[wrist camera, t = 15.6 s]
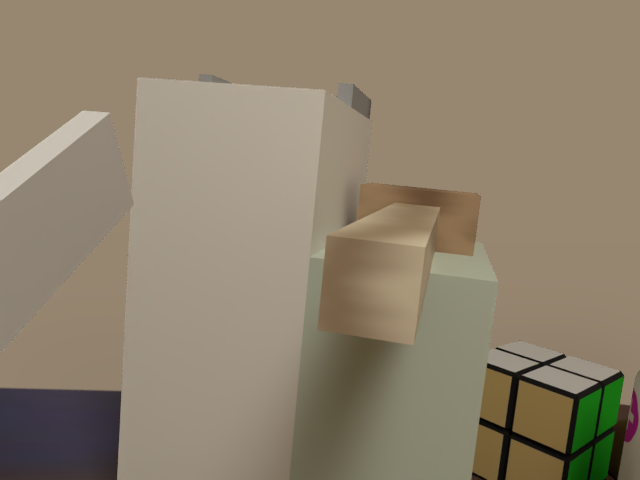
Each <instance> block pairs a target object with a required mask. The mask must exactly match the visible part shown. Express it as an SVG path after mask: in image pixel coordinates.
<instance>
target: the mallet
mask: <svg viewBox="0 0 640 480" xmlns="http://www.w3.org/2000/svg"><path fill="white" fill-rule="evenodd" d="M480 200H481V196H480V195H478V194H477V193H467V192H457V191H447V190H437V189H427V188H417V187H407V186H396V185H387V184H376V183H367V184H360V194H359V203H358V213H357V221H356V222H353V223H351V224H349V225H347V226H345V227H343V228H341V229H339V230H337V231H335V232H332V233H330V234H328V235H326V246H325V256H324V267H323V277H322V287H321V298H320V308H319V318H318V329H317V330H320V331H326V332H332V333H339V334H345V335H351V336H358V337H364V338H370V339H377V340H383V341H389V342H396V343H402V344H408V345H414V342H415V338H416V333H417V329H418V324H419V320H420V316H421V311H422V307H423V302H424V298H425V293H426V289H427V285H428V280H429V276H430V271H431V267H432V263H433V258H434V254H435V252H441V253H449V254H458V255H466V256H473V253H474V246H475V238H476V230H477V222H478V215H479V208H480Z"/></svg>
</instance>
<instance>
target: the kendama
mask: <svg viewBox="0 0 640 480" xmlns="http://www.w3.org/2000/svg"><path fill="white" fill-rule="evenodd" d="M627 423H628V419H618V418H617V422H616V424H615V425H614V426H612V427H613V428H614V430H615V434H614V439H613V445H612V451H611V457H610V463H609V471H610V473H611V474H612V476H613V477H614V478H615V479H616V480H618V474H619V469H620V463H621V457H622V451H623V446H624V440H625V434H626V428H627Z"/></svg>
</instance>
